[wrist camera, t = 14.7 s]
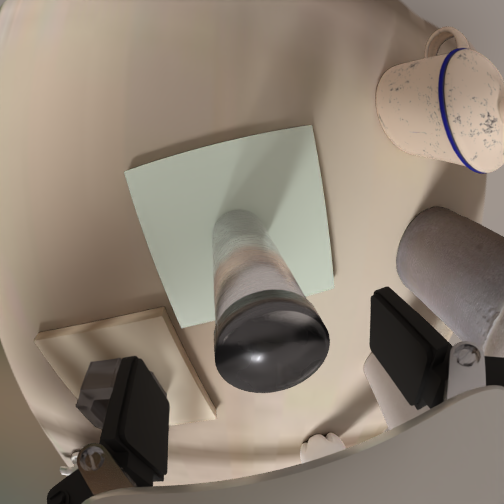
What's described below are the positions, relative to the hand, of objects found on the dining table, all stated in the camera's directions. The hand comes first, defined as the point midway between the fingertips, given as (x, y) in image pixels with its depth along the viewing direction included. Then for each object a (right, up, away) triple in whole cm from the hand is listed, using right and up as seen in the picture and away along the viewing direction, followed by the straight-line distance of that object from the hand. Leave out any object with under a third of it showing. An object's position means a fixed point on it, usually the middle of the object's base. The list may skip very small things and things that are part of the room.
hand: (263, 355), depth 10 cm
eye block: (-14, -10, +17) cm, 24 cm away
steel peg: (-1, +5, +11) cm, 12 cm away
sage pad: (-2, +6, +12) cm, 13 cm away
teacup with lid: (+14, +18, +9) cm, 25 cm away
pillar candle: (+18, +4, +16) cm, 25 cm away
